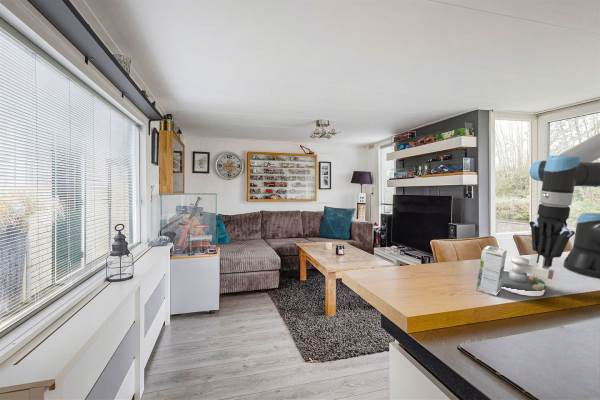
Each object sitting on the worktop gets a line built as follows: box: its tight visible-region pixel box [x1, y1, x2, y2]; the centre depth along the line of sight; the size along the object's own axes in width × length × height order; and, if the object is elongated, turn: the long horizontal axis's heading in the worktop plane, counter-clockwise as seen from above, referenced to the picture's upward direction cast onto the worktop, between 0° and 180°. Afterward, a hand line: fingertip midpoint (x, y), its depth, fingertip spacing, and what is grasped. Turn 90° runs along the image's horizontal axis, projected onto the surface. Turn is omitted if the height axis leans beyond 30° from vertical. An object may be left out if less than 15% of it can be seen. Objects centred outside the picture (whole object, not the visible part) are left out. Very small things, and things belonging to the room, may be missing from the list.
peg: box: [510, 256, 555, 280], centre depth 93 cm, size 11×5×4 cm, turn 43°
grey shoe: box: [501, 269, 547, 291], centre depth 96 cm, size 15×15×5 cm
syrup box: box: [475, 245, 507, 293], centre depth 91 cm, size 6×6×14 cm
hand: (542, 274), depth 93 cm, fingers closed
